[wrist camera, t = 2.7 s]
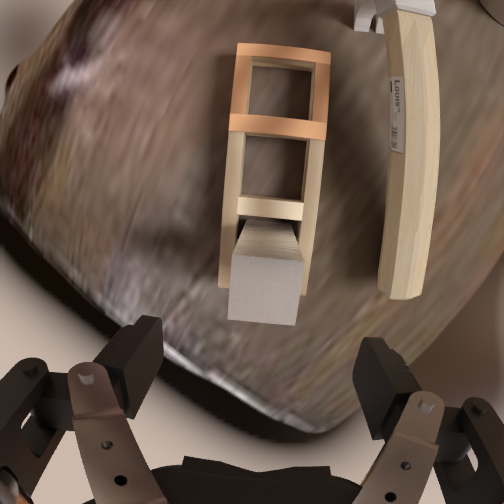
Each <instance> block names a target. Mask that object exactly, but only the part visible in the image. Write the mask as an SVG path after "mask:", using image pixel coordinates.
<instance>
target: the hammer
mask: <svg viewBox="0 0 504 504" xmlns="http://www.w3.org/2000/svg"><path fill="white" fill-rule="evenodd" d="M375 14H376V30H375V31H376V33H380V34H385V41H386V48H387V58H388V73H389V98H390V133H389V157H388V173H387V191H386V208H385V221H384V230H383V239H382V247H381V254H380V261H379V268H378V288H379V289H380V290H381V291H382V292H383V293H384V294H385V295H386V296H388V297H389V298H390V299H397V300H406V299H411V298H413V297H416V296H419V295H421V291H422V286H423V281H424V276H425V270H426V264H427V258H428V252H429V245H430V237H431V229H432V223H433V216H434V208H435V200H436V191H437V180H438V167H439V149H440V101H439V83H438V71H437V61H436V52H435V42H434V33H433V25H432V20H431V17H432V16H433V15H435V14H436V9H435V4H434V0H356V1H355V8H354V31H363V32H369V28H370V24H371V20H372V18H373V16H374V15H375Z"/></svg>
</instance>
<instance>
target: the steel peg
mask: <svg viewBox="0 0 504 504" xmlns="http://www.w3.org/2000/svg"><path fill="white" fill-rule="evenodd" d="M304 264H305V261H304V258H303V255H302V253H301V250H300V248H299V245H298V242H297V240H296V237H295V235H294V232H293V230H292V227H291V225H290V223H283V222H273V221H263V220H252V219H247V220H246V223H245V225H244V227H243V230H242V232H241V234H240V237H239V239H238V241H237V244H236V246H235V249H234V251H233V253H232V262H231V276H230V291H229V307H228V319H232V320H241V321H250V322H261V323H271V324H283V325H295V322H296V316H297V310H298V304H299V297H300V291H301V284H302V278H303V271H304Z"/></svg>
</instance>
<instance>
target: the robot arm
mask: <svg viewBox="0 0 504 504" xmlns="http://www.w3.org/2000/svg"><path fill="white" fill-rule="evenodd" d="M479 2H480V3H481V4H482V6H483V7H484V8H485V9H486V10H487V12H488V13H489V14H490V15H491V16H492V17H493V18H494V19H495V20H497V21H498V22H499V23H500V24H502V25H504V0H479ZM163 354H164V349H163V332H162V320H161V318H159V317H152V316H146V315H142V316H141V317H140V318H139V319H138V320H137V322H136V323H135V324H134V325H127V326H125V327H123V328H122V329H120V330H118V332H117V333H116V334H115V335H114V336H113V338H112V339H111V340H110V341H109V343H108V344H107V345H106V346H105V347H104V348H103V350H102V351H101V352H100V353H99V354H98V356H97V357H96V358H95V359H94V360H93V362H83V363H79V364H77V365H75V366H73V367H72V368H71V369H70V370H69V372H68V373H56V372H49V370H48V367H47V364H46V363H45V362H44V361H43V360H41V359H39V358H26V359H23V360H21V361H19V362H18V363H17V364H15V366H14V367H13V368H12V369H11V370H10V371H9V372H8V373H7V374H6V375H5V376H4V377H3V378H2V379H1V380H0V504H34V503H33V500H32V499H31V495H32V493H33V491H34V489H35V487H36V485H37V483H38V481H39V479H40V477H41V476H42V474H43V472H44V470H45V468H46V466H47V464H48V462H49V461H50V459H51V457H52V455H53V453H54V451H55V450H56V448H57V446H58V444H59V442H60V441H61V439H62V437H63V435H64V434H65V432H66V431H75V435H76V439H77V443H78V447H79V451H80V455H81V458H82V462H83V465H84V468H85V472H86V475H87V478H88V481H89V484H90V487H91V490H92V493H93V496H94V499H92V500H89V501H87V502H85V503H83V504H418V503H419V500H420V498H421V496H422V493H423V491H424V488H425V486H426V483H427V480H428V478H429V475H430V472H431V470H432V467H434V470H435V473H436V476H437V478H438V481H439V484H440V487H441V490H442V493H443V496H444V499H445V502H446V504H504V424H503V423H502V421H501V419H500V418H499V416H498V415H497V413H496V412H495V410H494V409H493V407H492V406H491V405H490V404H489V403H488V402H487V401H485V400H484V399H481V398H478V397H470V398H468V399H466V400H465V402H464V403H463V405H462V407H461V408H455V407H446V406H444V403H443V401H442V400H441V399H440V398H439V397H438V396H437V395H435V394H433V393H430V392H427V391H423V390H422V389H421V387H420V385H419V384H418V382H417V380H416V379H415V377H414V376H413V374H412V372H410V369H409V367H408V366H406V363H405V361H404V359H403V358H402V356H401V355H399V354H398V353H397V352H395V351H394V350H393V349H389V347H388V346H387V344H386V342H385V341H384V339H383V338H378V337H365V338H364V339H363V340H362V342H361V346H360V349H359V352H358V356H357V359H356V362H355V365H354V369H353V376H352V377H353V384H354V387H355V390H356V392H357V395H358V398H359V401H360V404H361V407H362V409H363V412H364V415H365V418H366V421H367V425H368V428H369V431H370V433H371V437H372V440H380V439H384V441H385V444H384V446H383V447H382V449H381V451H380V453H379V454H378V456H377V458H376V459H375V461H374V463H373V465H372V466H371V468H370V470H369V471H368V473H367V474H366V476H365V478H364V479H363V481H362V482H361V484H360V485H358V484H356V483H354V482H352V481H350V480H347V479H344V478H341V477H337V476H332V475H331V472H330V467H329V466H318V467H317V466H315V467H291V468H285V469H280V470H273V471H267V472H253V471H249V470H246V469H243V468H239V467H236V466H233V465H230V464H226V463H223V462H220V461H213V460H207V459H200V458H194V457H188V456H184V459H183V463H182V465H171V466H164V467H159V468H156V469H152V470H150V469H149V467H148V465H147V463H146V461H145V459H144V457H143V455H142V453H141V451H140V449H139V446H138V444H137V442H136V440H135V438H134V435H133V433H132V431H131V429H130V426H129V424H128V422H127V419H126V418H130V419H134V418H135V416H136V414H137V412H138V410H139V408H140V406H141V404H142V402H143V399H144V398H145V396H146V394H147V392H148V390H149V388H150V386H151V384H152V382H153V380H154V378H155V376H156V374H157V372H158V370H159V368H160V366H161V364H162V360H163ZM29 413H31V416H30V418H29V419H28V420H27V422H26V423H25V425H24V426H23V428H22V429H21V425H22V422H23V421H24V419H25V418H26V417H27V415H28V414H29ZM471 448H472V449H473V451H474V453H475V455H476V457H477V459H478V468H477V470H476V472H475V470H474V468H473V466H472V464H471V462H470V459H469V457H468V455H467V453H468V452H469V450H470V449H471Z"/></svg>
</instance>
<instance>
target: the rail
mask: <svg viewBox="0 0 504 504" xmlns="http://www.w3.org/2000/svg"><path fill="white" fill-rule="evenodd" d="M330 64H331V52H325V51H319V50H312V49H305V48H297V47H289V46H279V45H267V44H250V43H238V46H237V55H236V63H235V72H234V81H233V91H232V100H231V110H230V120H229V137H228V148H227V159H226V171H225V184H224V197H223V211H222V226H221V241H220V257H219V275H218V287H223V288H230V276H231V262H232V253H233V251H234V249H235V246H236V244H237V238H238V226H239V215H250V216H261V217H271V218H281V219H291V220H298V228H297V236H296V240H297V242H298V245H299V248H300V250H301V253H302V255H303V258H304V261H305V264H304V271H303V278H302V284H301V291H300V295H306V289H307V283H308V277H309V270H310V263H311V257H312V250H313V242H314V235H315V228H316V220H317V212H318V203H319V195H320V186H321V177H322V167H323V156H324V146H325V140H326V129H327V116H328V102H329V85H330ZM253 66H262V67H274V68H284V69H294V70H302V71H309V72H312V76H311V91H310V105H309V118H308V120H300V119H292V118H283V117H273V116H262V115H248V110H249V100H250V89H251V79H252V69H253ZM246 135H248V136H260V137H271V138H281V139H291V140H299V141H307V142H306V153H305V163H304V173H303V183H302V193H301V200H294V199H285V198H275V197H265V196H254V195H243V194H241V189H242V177H243V165H244V154H245V143H246Z"/></svg>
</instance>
